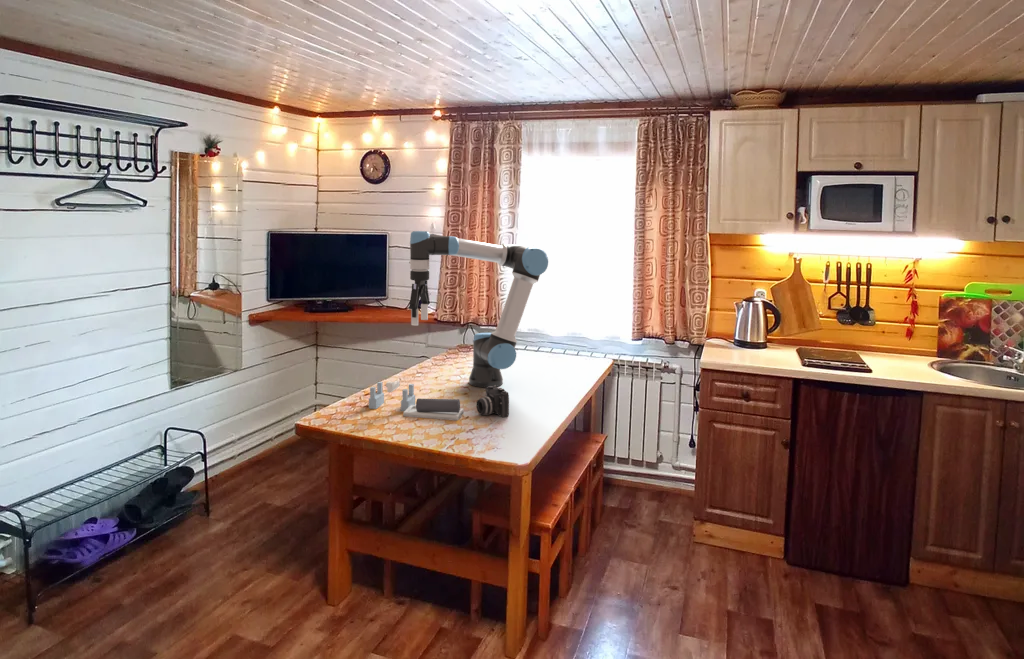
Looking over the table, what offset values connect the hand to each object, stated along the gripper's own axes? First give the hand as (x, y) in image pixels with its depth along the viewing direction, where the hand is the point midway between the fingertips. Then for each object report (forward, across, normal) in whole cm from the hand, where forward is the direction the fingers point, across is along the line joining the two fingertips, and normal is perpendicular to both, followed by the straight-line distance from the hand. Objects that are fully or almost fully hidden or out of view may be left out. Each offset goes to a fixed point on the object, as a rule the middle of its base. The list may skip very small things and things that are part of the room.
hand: (419, 322), depth 281 cm
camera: (+32, +13, +32) cm, 47 cm away
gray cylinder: (+30, +20, +13) cm, 39 cm away
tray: (+32, +20, +12) cm, 39 cm away
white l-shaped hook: (+22, +21, -4) cm, 31 cm away
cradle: (+32, +14, -7) cm, 35 cm away
